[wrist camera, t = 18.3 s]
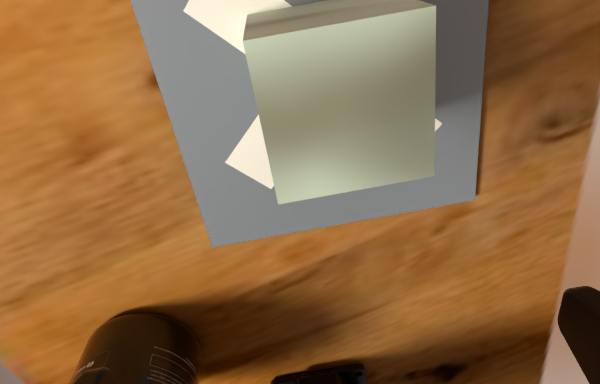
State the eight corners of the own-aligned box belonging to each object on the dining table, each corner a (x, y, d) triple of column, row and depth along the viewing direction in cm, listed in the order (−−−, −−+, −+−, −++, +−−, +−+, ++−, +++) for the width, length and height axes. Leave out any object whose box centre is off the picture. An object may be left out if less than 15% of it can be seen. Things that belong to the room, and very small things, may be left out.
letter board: (471, 196, 22) (475, 200, 22) (213, 242, 22) (212, 247, 22) (497, -203, 14) (504, -207, 14) (91, -129, 14) (86, -131, 14)
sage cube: (390, 120, 19) (434, 176, 14) (273, 141, 19) (278, 204, 14) (384, -11, 16) (436, 5, 12) (246, 14, 16) (242, 40, 12)
